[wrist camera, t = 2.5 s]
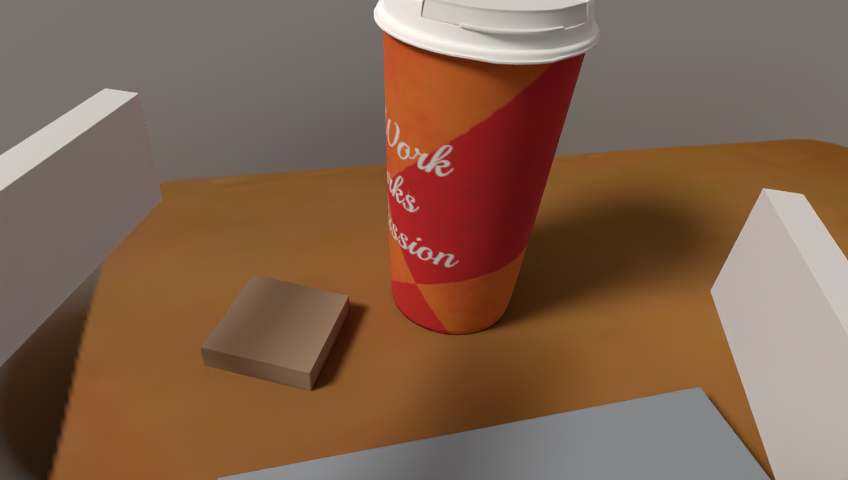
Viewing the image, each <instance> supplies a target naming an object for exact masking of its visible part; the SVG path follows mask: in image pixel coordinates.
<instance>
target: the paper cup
mask: <svg viewBox="0 0 848 480" xmlns="http://www.w3.org/2000/svg"><path fill="white" fill-rule="evenodd" d="M594 3H595V0H379V2H378V4H377V6H376V8H375V9H374V19H375V21H376V23H377V24H378V25H379V27H380V28H381V29H382V30H383V41H384V76H385V110H386V144H387V146H386V147H387V182H388V213H389V242H390V265H391V282H392V292H393V297H394V300H395V303H396V305H397V307H398V308H399V310H400V311H401V312H402V313H403V314H404V315H405V316H406V317H407V318H408V319H409V320H411V321H412V322H413V323H415V324H417V325H419V326H421V327H423V328H425V329H427V330H430V331H434V332H438V333H443V334H451V335H462V334H470V333H475V332H479V331H481V330H484V329H486V328H488V327H490V326H492V325H493V324H495V323H496V322H497V321H498V320H499V319H500V318H501V317H502V315H503V314H504V312H505V310H506V308H507V306H508V303H509V301H510V298H511V295H512V292H513V289H514V286H515V283H516V280H517V277H518V274H519V271H520V268H521V264H522V261H523V258H524V255H525V251H526V248H527V245H528V242H529V238H530V235H531V232H532V228H533V225H534V222H535V219H536V215H537V212H538V209H539V205H540V202H541V199H542V195H543V192H544V189H545V185H546V182H547V179H548V175H549V172H550V169H551V165H552V162H553V159H554V155H555V152H556V149H557V145H558V142H559V138H560V135H561V132H562V129H563V125H564V122H565V119H566V115H567V112H568V109H569V105H570V102H571V99H572V95H573V92H574V88H575V85H576V81H577V78H578V75H579V72H580V69H581V65H582V62H583V58H584V55H585V52H587V51H589V50H591V49H592V48H593V47H595V46H596V44H597V43H598V41H599V35H600V33H599V29H598V26H597V23H596V22H595V21H594V20H593V14H594Z"/></svg>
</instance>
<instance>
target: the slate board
mask: <svg viewBox="0 0 848 480" xmlns="http://www.w3.org/2000/svg"><path fill="white" fill-rule="evenodd" d="M218 480H771V479H770V478H769V477H768V475H767V474H766V473H765V471H764V470H763V469H762V468H761V466H760V465H759V464H758V462H757V461H756V460H755V458H754V457H753V456H752V454H751V453H750V452H749V451H748V449H747V448H746V447H745V445H744V444H743V443H742V441H741V440H740V439H739V438H738V436H737V435H736V434H735V432H734V431H733V430H732V428H731V427H730V426H729V424H728V423H727V422H726V421H725V419H724V418H723V417H722V415H721V414H720V413H719V411H718V410H717V409H716V408H715V406H714V405H713V404H712V402H711V401H710V400H709V398H708V397H707V396H706V394H705V393H704V392H703V391H702V389H701V388H700V387H697V388H692V389H686V390H681V391H676V392H670V393H665V394H660V395H655V396H649V397H644V398H639V399H633V400H628V401H623V402H618V403H612V404H607V405H602V406H597V407H591V408H586V409H581V410H575V411H570V412H565V413H560V414H554V415H549V416H544V417H538V418H533V419H528V420H523V421H517V422H512V423H507V424H501V425H496V426H491V427H486V428H480V429H475V430H470V431H465V432H459V433H454V434H449V435H443V436H438V437H433V438H428V439H422V440H417V441H412V442H406V443H401V444H396V445H391V446H385V447H380V448H375V449H370V450H364V451H359V452H354V453H348V454H343V455H338V456H333V457H327V458H322V459H317V460H311V461H306V462H301V463H296V464H290V465H285V466H280V467H275V468H269V469H264V470H259V471H253V472H248V473H243V474H238V475H232V476H227V477H222V478H218Z"/></svg>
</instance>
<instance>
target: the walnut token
mask: <svg viewBox="0 0 848 480" xmlns="http://www.w3.org/2000/svg"><path fill="white" fill-rule="evenodd" d="M348 314H349V296H348V295H343V294H339V293H334V292H330V291H325V290H321V289H316V288H311V287H307V286H302V285H298V284H293V283H289V282H284V281H280V280H275V279H270V278H266V277H261V276H257V275H253V276H252V277H251V279H250V280H249V282H248V283H247V284H246V286H245V287H244V288H243V290H242V291H241V292H240V294H239V295H238V297H237V298H236V299H235V301H234V302H233V303H232V305H231V306H230V307H229V309H228V310H227V312H226V313H225V314H224V316H223V317H222V318H221V320H220V321H219V322H218V324H217V325H216V327H215V328H214V329H213V331H212V332H211V333H210V335H209V336H208V337H207V339H206V340H205V342H204V343H203V344H202V346H201V352H202V356H203V360H204V364H205V366H209V367H214V368H218V369H222V370H226V371H230V372H234V373H238V374H242V375H246V376H250V377H254V378H259V379H263V380H267V381H271V382H275V383H279V384H283V385H287V386H291V387H295V388H300V389H304V390H308V391H311V390H312V388H313V386H314V384H315V382H316V380H317V377H318V375H319V373H320V371H321V369H322V367H323V365H324V363H325V361H326V359H327V357H328V355H329V353H330V351H331V349H332V347H333V345H334V343H335V340H336V338H337V336H338V334H339V332H340V330H341V328H342V326H343V324H344V322H345V320H346V318H347V316H348Z"/></svg>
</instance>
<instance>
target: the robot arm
mask: <svg viewBox="0 0 848 480" xmlns="http://www.w3.org/2000/svg"><path fill="white" fill-rule="evenodd" d="M162 200H163V199H162V195H161V190H160V186H159V181H158V177H157V173H156V168H155V164H154V160H153V155H152V151H151V146H150V142H149V137H148V133H147V128H146V124H145V120H144V115H143V111H142V106H141V102H140V97H139V94H138V93H132V92H126V91H120V90H113V89H106V88H105V89H104V90H102V91H100V92H99V93H97V94H96V95H94V96H93V97H91V98H89V99H88V100H86V101H85V102H83V103H82V104H80V105H79V106H77V107H76V108H74V109H72V110H71V111H69V112H68V113H66V114H64V115H63V116H61V117H60V118H58V119H57V120H55V121H54V122H52V123H50V124H49V125H47V126H46V127H44V128H43V129H41V130H40V131H38V132H37V133H35V134H33V135H32V136H30V137H29V138H27V139H26V140H24V141H22V142H21V143H19V144H18V145H16V146H15V147H13V148H12V149H10V150H8V151H7V152H5V153H4V154H2V155H1V156H0V366H1V365H2V364H3V363H4V362H5V361H6V360H7V359H8V358H9V357H10V356H11V355H12V354H13V353H14V352H15V351H16V350H17V349H18V348H19V347H20V346H21V345H22V344H23V343H24V342H25V341H26V340H27V339H28V338H29V337H30V335H32V334H33V333H34V332H35V330H36V329H37V328H38V327H39V326H40V325H41V324H42V323H43V322H44V321H45V320H46V319H47V318H48V317H49V316H50V315H51V314H52V313H53V312H54V311H55V310H56V309H57V308H58V307H59V306H60V305H61V304H62V303H63V302H64V301H65V300H66V299H67V298H68V296H69V295H70V294H71V293H72V292H73V291H74V290H75V289H76V288H77V287H78V286H79V285H80V284H81V283H82V282H83V281H84V280H85V279H86V278H87V277H88V276H89V275H90V274H91V273H92V272H93V271H94V270H95V269H96V268H97V267H98V266H99V265H100V264H101V263H102V262H103V260H104V259H105V258H106V257H107V256H108V255H109V254H110V253H111V252H112V251H113V250H114V249H115V248H116V247H117V246H118V245H119V244H120V243H121V242H122V241H123V240H124V239H125V238H126V237H127V236H128V235H129V234H130V233H131V232H132V231H133V230H134V229H135V228H136V227H137V225H138V224H139V223H140V222H141V221H142V220H143V219H144V218H145V217H146V216H147V215H148V214H149V213H150V212H151V211H152V210H153V209H154V208H155V207H156V206H157V205H158V204H159V203H160V202H161V201H162ZM711 294H712V297H713V300H714V303H715V306H716V308H717V311H718V314H719V317H720V320H721V323H722V326H723V329H724V332H725V335H726V337H727V340H728V343H729V346H730V349H731V352H732V355H733V358H734V361H735V364H736V366H737V369H738V372H739V375H740V378H741V381H742V384H743V387H744V390H745V393H746V395H747V398H748V401H749V404H750V407H751V410H752V413H753V416H754V419H755V421H756V424H757V427H758V430H759V433H760V436H761V439H762V442H763V445H764V448H765V450H766V453H767V456H768V459H769V462H770V465H771V468H772V471H773V474H774V477H775V479H776V480H848V260H847V259H846V257H845V256H844V254H843V253H842V251H841V250H840V248H839V247H838V245H837V244H836V242H835V241H834V239H833V238H832V237H831V235H830V234H829V232H828V231H827V229H826V228H825V226H824V225H823V223H822V222H821V220H820V219H819V217H818V216H817V214H816V213H815V211H814V210H813V208H812V207H811V205H810V204H809V202H808V201H807V199H806V198H805V196H804V195H803V194H797V193H791V192H784V191H777V190H771V189H764V188H763V190H762V192H761V194H760V196H759V198H758V200H757V202H756V204H755V205H754V207H753V209H752V211H751V213H750V215H749V217H748V219H747V221H746V223H745V225H744V227H743V229H742V231H741V233H740V235H739V237H738V239H737V241H736V242H735V244H734V246H733V248H732V250H731V252H730V254H729V256H728V258H727V260H726V262H725V264H724V266H723V268H722V270H721V272H720V274H719V276H718V277H717V279H716V281H715V283H714V285H713V287H712V289H711Z"/></svg>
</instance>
